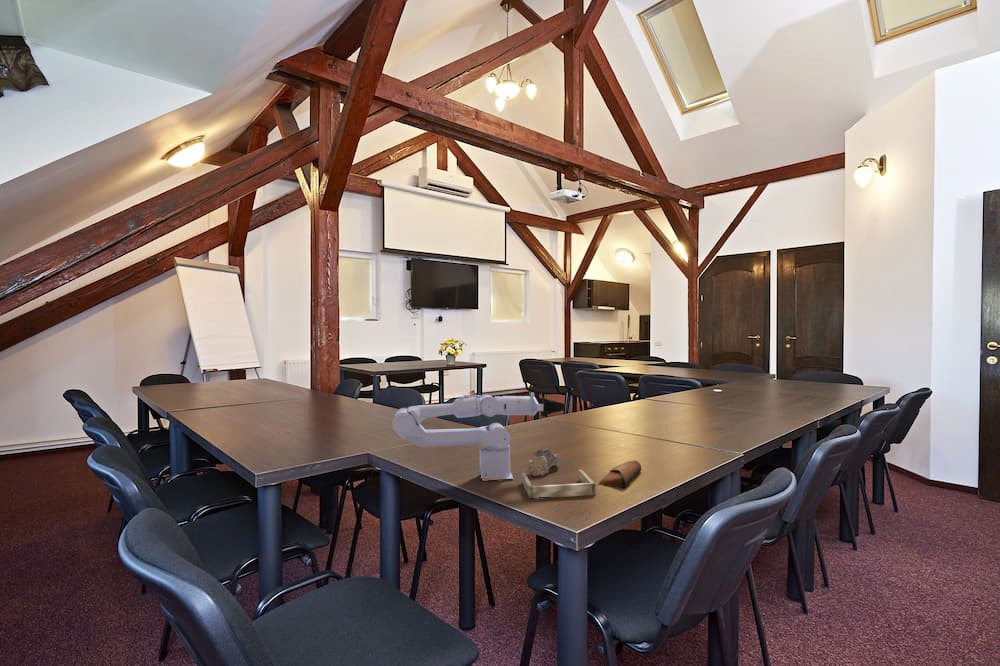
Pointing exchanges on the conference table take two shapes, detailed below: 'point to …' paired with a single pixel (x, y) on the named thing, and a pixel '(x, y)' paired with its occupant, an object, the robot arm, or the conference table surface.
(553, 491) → the box
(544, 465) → the rock
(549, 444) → the conference table surface
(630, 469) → the sunglasses case
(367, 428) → the conference table surface
